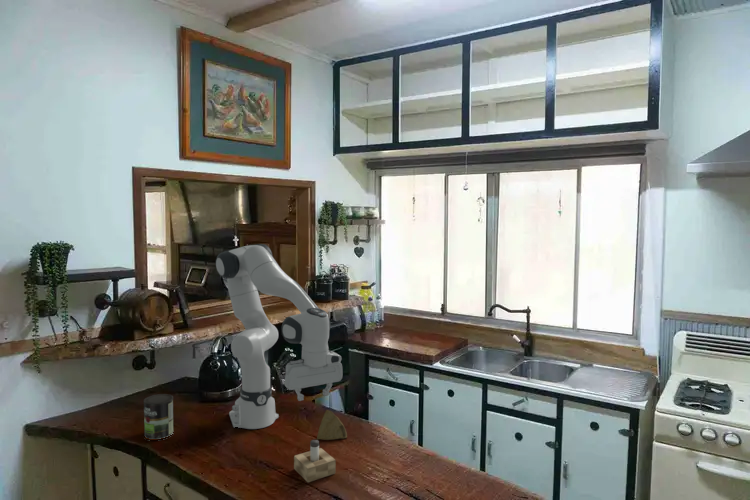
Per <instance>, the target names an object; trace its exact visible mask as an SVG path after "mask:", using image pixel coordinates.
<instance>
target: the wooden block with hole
mask: <svg viewBox="0 0 750 500" xmlns="http://www.w3.org/2000/svg"><path fill="white" fill-rule="evenodd" d="M336 462H337V461H336V459H335V458H334V457H333V456H331V455H330V454H329V453H328V452H327V451H325V450H324V449H323V448H322V447H319V460H318V461H315V462H311V461H310V450H309V451H306V452H303V453H299V454H295V455H294V457H293V470H295V471H296V473H298V474H299V475H300V477H302V478H303V480H305V481H306V482H307V483H311V482H314V481H317V480H320V479H323V478H325V477H329V476H332V475H335V474H336Z"/></svg>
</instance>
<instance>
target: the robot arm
mask: <svg viewBox="0 0 750 500" xmlns="http://www.w3.org/2000/svg"><path fill="white" fill-rule="evenodd" d="M215 267H216V271H217V273H218V274H219V276H220V277H221V278H222V279H223V278H224V279H227V290H228V294H229V298H230V302H231V303H230V304H231V307H232V311H233V314H234V317H235V318H236V319H238V320H239V321H240V322H241V323H242V325H243V327H244V328H245V329H244V330H242V331H241V332H239V333H238V334H237V335H236V336H235V337H233V339H232V341H231V344H230V350H231V352H232V355H234V357H236V359H238V362H239V365H240V369H241V370H240V371H241V388H240V393H239V394H240V395H239V397H238V398H237V399H236V400H235V401H234V405H232V406H231V409H232V410H231V411H229V413H228V415H229V418H230V421H231V424H232V427H233V428H235V427H238V428H237V429H239V428H240V429H241V428H242V429H247V430H257V429H263V428H267V427H270V426H271V425H272V424H274V423H275V421H276V420H277V419H279V417H280V416H279V413H277V412H276V402H275V398H274V397H273V396H272V391H273V390H272V386H271V368H270V365H269V364H267V362H266V359H265V352H266V351H268V350H269V349H272V347H273V346H274V345H275V344H276V343H277V341H278V339H279V330H278V328H277V327H276V326H275V325H274V324H272V322H271V321H270V320H269V318H268V317H267V314H266V313H265V311H264V308H263V305H262V301H261V298H260V294H259V293H261V294H264V295H267V296H273V297H279V298H283V299H286V300H288V301H290V302H291V303H293V305H294V306H295V307H296V309H298V311H299V312H300V313H297V314H294V315H290V316H286V317H285V318H284V320H283V322H282V325H281V335H282V337H283V339H284V340H285V341H286V342H288V343H289V344H295V345H296V344H301V359H297V360H290V361H289V362H288V363H287V364H286V365H285V376H284V383H283V384H284V386H285V387H286V389H288V391H292V390H293V391H295V394H296V395H297V401H298V402H301V401H304V400H305V399H304V398H305V395H304V394H303V393H301V391H302V389H305V388H310V387H315V386H317V387H318V386H321V385H326V386H325V388H324V389H322V395H323V396H324V397H328V396H329V395H330V390H331V389H332V386H333V383H338V382H341V380H342V379H343V364H342V363H341V361H342V356H341V355H340V354H338V353H337V352H335V351H332V350H329V349H330V348H329V343H328V341H329V339H330V330H331V320H330V318H329V314H328V312H327V311H325V310H324V309H322V308H320V307H318V305H317V304H316V303H315V301H313V300H312V298H311V297H310V295H308V293H307V292H306V291H305V289H304V288H303V287H302V286H301V285H300V284H299V283H298V281H296V280H294V279H293V278H292V277H291V276H289V275H288V274H287V273H286V272H285V271H284V270H283V269H282V268H281V266H280V265H279V263H278V262H277V261H276V259H275V258H274V256H273V251H272V250H271V248H270V247H269V246H268V245H267V244H264V243H263V244H262V243H256V244H250V245H245V246H240V247H238V248H233V249H230V250H225V251H222V252H220V253H218V255H217V256H216V258H215Z"/></svg>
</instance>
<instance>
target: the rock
mask: <svg viewBox="0 0 750 500" xmlns="http://www.w3.org/2000/svg"><path fill="white" fill-rule="evenodd" d="M347 438H348V433H347V429H346V428H345V425H344V424H343V422H342V420H340V418H339V417H338V416H337V415H336V414H334V412H332V410H329V409H326V410H325V412H324V414H323V417H322V419H321V422H320V426H319V428H318V432H317V435H316V440H318V441H319V440H324V441H329V440H340V439H347Z"/></svg>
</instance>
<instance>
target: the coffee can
mask: <svg viewBox="0 0 750 500" xmlns="http://www.w3.org/2000/svg"><path fill="white" fill-rule="evenodd" d="M143 416H144V417H143V418H144V422H143V423H144V424H143V425H144V429H143V430H144V436H145V437H146V438H149V439H161V438H165V437H168V436H170V435H172V434H173V435H174V433H173V432H174V396H173V395H171V394H170V393H169V394H167V393H158V394H153V395H149V396H147V397H145V398H144V399H143ZM173 435H172V436H173ZM170 437H171V436H170Z"/></svg>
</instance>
